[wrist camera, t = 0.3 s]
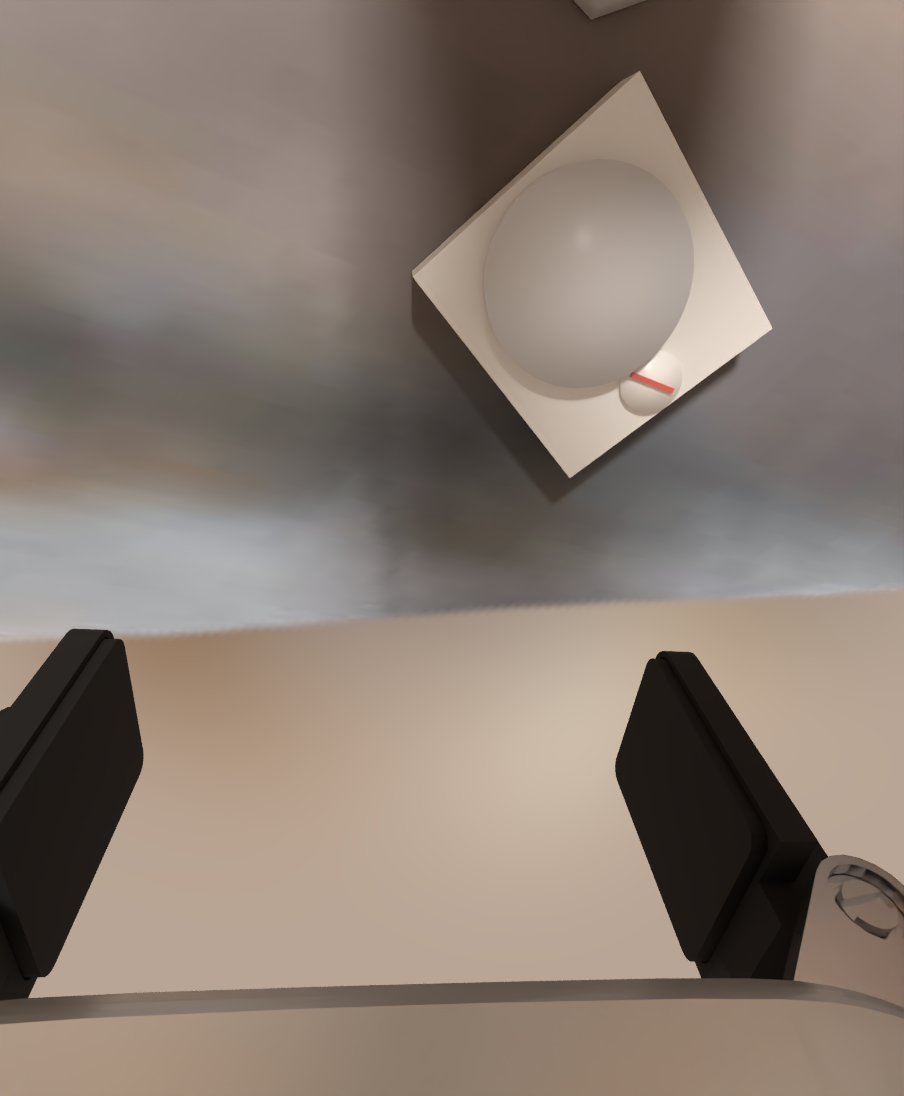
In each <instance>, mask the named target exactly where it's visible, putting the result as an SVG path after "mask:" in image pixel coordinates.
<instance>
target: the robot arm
mask: <svg viewBox="0 0 904 1096" xmlns="http://www.w3.org/2000/svg"><path fill="white" fill-rule="evenodd" d="M142 765H143V747H142V742H141V736H140V730H139V725H138V719H137V714H136V708H135V703H134V697H133V691H132V685H131V680H130V674H129V668H128V663H127V657H126V652H125V646H124V643H123V641H122V640H121V639H114V637H113V634H112V633H111V631H108V630H92V629H72V630H70V631H69V632H68V633H67V634H66V635H65V636H64V637H63V639H62V640H61V641H60V643H59V644H58V645H57V647H56V648H55V649H54V651H53V652H52V653H51V654H50V656H49V657H48V658H47V660H46V661H45V662H44V664H43V665H42V666H41V668H40V669H39V670H38V671H37V673H36V674H35V675H34V677H33V678H32V679H31V681H30V682H29V683H28V685H27V686H26V687H25V689H24V690H23V691H22V693H21V694H20V695H19V696H18V698H17V699H16V700H15V702H14V703H13V704H12V706H11V707H7V708H5V709H3V710H1V711H0V1096H904V885H903V884H901V883H900V882H899V881H898V880H897V879H896V878H895V877H893V876H892V875H891V874H889V873H888V872H886V871H884V870H883V869H881V868H880V867H878V866H877V865H875V864H872V863H870V862H868V861H865V860H863V859H860V858H857V857H852V856H847V855H835V856H829V857H828V856H827V854H826V853H825V852H824V850H823V848H822V847H821V845H820V844H819V842H818V841H817V839H816V837H815V836H814V834H813V833H812V831H811V830H810V828H809V827H808V825H807V824H806V822H805V821H804V819H803V818H802V816H801V815H800V813H799V811H798V810H797V808H796V807H795V805H794V804H793V803H792V801H791V799H790V798H789V797H788V795H787V793H786V792H785V790H784V789H783V787H782V786H781V784H780V783H779V781H778V780H777V778H776V777H775V775H774V774H773V772H772V771H771V769H770V768H769V766H768V764H767V763H766V761H765V760H764V758H763V757H762V755H761V754H760V753H759V751H758V749H757V748H756V746H755V745H754V744H753V742H752V740H751V739H750V737H749V736H748V734H747V733H746V731H745V730H744V728H743V727H742V725H741V724H740V722H739V720H738V719H737V718H736V716H735V715H734V713H733V711H732V710H731V708H730V707H729V705H728V704H727V703H726V701H725V699H724V698H723V696H722V695H721V693H720V692H719V690H718V689H717V687H716V686H715V684H714V683H713V681H712V680H711V678H710V677H709V675H708V674H707V672H706V670H705V669H704V667H703V666H702V664H701V663H700V661H699V660H698V658H697V657H696V656H695V655H694V654H693V653H691V652H674V651H662V652H659V654H658V655H657V656H656V659H650V660H649V661H648V663H647V665H646V668H645V671H644V674H643V677H642V681H641V684H640V687H639V690H638V693H637V696H636V699H635V702H634V705H633V708H632V712H631V715H630V718H629V721H628V724H627V727H626V730H625V733H624V736H623V740H622V743H621V746H620V749H619V752H618V755H617V758H616V764H615V772H616V778H617V781H618V784H619V786H620V789H621V791H622V794H623V797H624V799H625V802H626V805H627V807H628V810H629V812H630V815H631V818H632V820H633V823H634V825H635V828H636V831H637V833H638V836H639V839H640V841H641V844H642V847H643V849H644V852H645V854H646V857H647V860H648V862H649V864H650V867H651V870H652V873H653V875H654V878H655V880H656V883H657V886H658V888H659V891H660V894H661V896H662V899H663V902H664V904H665V907H666V909H667V912H668V914H669V917H670V920H671V922H672V925H673V928H674V930H675V933H676V936H677V938H678V941H679V943H680V946H681V948H682V951H683V953H684V955H685V956H686V958H687V959H688V960H689V961H695V963H696V966H697V968H698V971H699V973H700V976H701V978H699V979H615V980H571V981H570V980H569V981H524V982H523V981H522V982H481V983H444V984H408V985H370V986H339V987H338V986H336V987H335V986H334V987H302V988H270V989H239V990H209V991H179V992H149V993H126V994H125V993H124V994H106V995H86V996H66V997H45V998H28V997H29V995H30V992H31V990H32V988H33V986H34V984H35V981H36V979H37V977H46V976H47V975H48V974H49V973H50V972H51V970H52V969H53V967H54V965H55V963H56V961H57V959H58V956H59V954H60V952H61V950H62V947H63V945H64V943H65V940H66V938H67V936H68V934H69V932H70V929H71V927H72V925H73V923H74V920H75V918H76V916H77V914H78V912H79V909H80V907H81V905H82V903H83V900H84V898H85V896H86V894H87V891H88V889H89V887H90V885H91V882H92V880H93V878H94V876H95V874H96V871H97V869H98V867H99V864H100V862H101V860H102V858H103V856H104V853H105V851H106V849H107V847H108V845H109V842H110V840H111V838H112V836H113V833H114V831H115V829H116V827H117V824H118V822H119V820H120V818H121V815H122V813H123V811H124V809H125V806H126V804H127V802H128V800H129V797H130V795H131V793H132V791H133V789H134V786H135V784H136V782H137V780H138V778H139V775H140V772H141V769H142Z"/></svg>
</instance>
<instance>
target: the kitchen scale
mask: <svg viewBox="0 0 904 1096" xmlns="http://www.w3.org/2000/svg"><path fill="white" fill-rule="evenodd" d="M411 272H412V276H413V278H414V279H415V281H416V282H417V283H418V284H419V286H420V287H421V288H422V290H423V291H424V292H425V293H426V295H427V296H428V297H429V299H430V300H431V301H432V302H433V304H434V305H435V306H436V308H437V309H438V310H439V311H440V313H441V314H442V315H443V317H444V318H445V319H446V320H447V322H448V323H449V324H450V325H451V327H452V328H453V329H454V331H455V332H456V333H457V334H458V336H459V337H460V338H461V340H462V341H463V342H464V343H465V345H466V346H467V347H468V349H469V350H470V351H471V352H472V354H473V355H474V356H475V358H476V359H477V360H478V361H479V363H480V364H481V365H482V366H483V368H484V369H485V370H486V372H487V373H488V374H489V375H490V377H491V378H492V379H493V381H494V382H495V383H496V384H497V386H498V387H499V388H500V390H501V391H502V392H503V393H504V395H505V396H506V397H507V399H508V400H509V401H510V402H511V404H512V405H513V406H514V407H515V409H516V410H517V411H518V413H519V414H520V415H521V416H522V418H523V419H524V420H525V422H526V423H527V424H528V425H529V427H530V428H531V429H532V431H533V432H534V433H535V434H536V436H537V437H538V438H539V439H540V441H541V442H542V443H543V445H544V446H545V447H546V448H547V450H548V451H549V452H550V454H551V455H552V456H553V457H554V459H555V460H556V461H557V463H558V464H559V465H560V466H561V468H562V469H563V470H564V472H565V473H566V474H567V475H568V477H569V478H571V477H572V476H574V475H575V474H576V473H578V472H579V471H580V470H582V469H583V468H584V467H586V466H587V465H589V464H590V463H591V462H593V461H594V460H595V459H597V458H598V457H599V456H601V455H602V454H603V453H605V452H606V451H607V450H609V449H610V448H611V447H613V446H614V445H616V444H617V443H618V442H620V441H621V440H622V439H624V438H625V437H626V436H628V435H629V434H630V433H632V432H633V431H634V430H636V429H637V428H639V427H640V426H641V425H643V424H644V423H645V422H647V421H648V420H649V419H651V418H652V417H653V416H655V415H656V414H657V413H659V412H660V411H662V410H663V409H664V408H666V407H667V406H668V405H670V404H671V403H672V402H674V401H675V400H676V399H678V398H679V397H680V396H682V395H683V394H684V393H686V392H687V391H689V390H690V389H691V388H693V387H694V386H695V385H697V384H698V383H699V382H701V381H702V380H703V379H705V378H706V377H707V376H709V375H710V374H712V373H713V372H714V371H716V370H717V369H718V368H720V367H721V366H722V365H724V364H725V363H726V362H728V361H729V360H730V359H732V358H733V357H734V356H736V355H737V354H739V353H740V352H741V351H743V350H744V349H745V348H747V347H748V346H749V345H751V344H752V343H753V342H755V341H756V340H757V339H759V338H760V337H762V336H763V335H764V334H766V333H767V332H768V331H770V330H771V329H772V326H771V324H770V323H769V321H768V319H767V317H766V315H765V313H764V311H763V309H762V307H761V305H760V303H759V301H758V299H757V297H756V295H755V293H754V291H753V290H752V288H751V286H750V284H749V282H748V280H747V278H746V276H745V274H744V272H743V270H742V268H741V266H740V264H739V262H738V260H737V258H736V257H735V255H734V253H733V251H732V249H731V247H730V245H729V243H728V241H727V239H726V237H725V235H724V233H723V231H722V229H721V227H720V225H719V224H718V222H717V220H716V218H715V216H714V214H713V212H712V210H711V208H710V206H709V204H708V202H707V200H706V198H705V196H704V194H703V192H702V190H701V189H700V187H699V185H698V183H697V181H696V179H695V177H694V175H693V173H692V171H691V169H690V167H689V165H688V163H687V161H686V159H685V157H684V156H683V154H682V152H681V150H680V148H679V146H678V144H677V142H676V140H675V138H674V136H673V134H672V132H671V130H670V128H669V126H668V124H667V123H666V121H665V119H664V117H663V115H662V113H661V111H660V109H659V107H658V105H657V103H656V101H655V99H654V97H653V95H652V93H651V91H650V90H649V88H648V86H647V84H646V82H645V80H644V78H643V76H642V74H641V72H640V71H638V72H637V73H635V74H633V75H631V76H629V77H627V78H625V79H624V80H622V81H620V82H619V83H618V84H617V85H615V86H614V87H613V88H612V89H611V90H610V91H609V92H608V93H607V94H606V95H604V96H603V97H602V98H601V99H600V100H599V101H598V102H597V103H596V104H595V105H594V106H592V107H591V108H590V109H589V110H588V111H587V112H586V113H585V114H584V115H583V116H581V117H580V118H579V119H578V120H577V121H576V122H575V123H574V124H573V125H572V126H570V127H569V128H568V129H567V130H566V131H565V132H564V133H563V134H562V135H561V136H559V137H558V138H557V139H556V140H555V141H554V142H553V143H552V144H551V145H550V146H549V147H547V148H546V149H545V150H544V151H543V152H542V153H541V154H540V155H539V156H538V157H536V158H535V159H534V160H533V161H532V162H531V163H530V164H529V165H528V166H527V167H525V168H524V169H523V170H522V171H521V172H520V173H519V174H518V175H517V176H516V177H514V178H513V179H512V180H511V181H510V182H509V183H508V184H507V185H506V186H505V187H504V188H502V189H501V190H500V191H499V192H498V193H497V194H496V195H495V196H494V197H493V198H491V199H490V200H489V201H488V202H487V203H486V204H485V205H484V206H483V207H482V208H480V209H479V210H478V211H477V212H476V213H475V214H474V215H473V216H472V217H471V218H469V219H468V220H467V221H466V222H465V223H464V224H463V225H462V226H461V227H460V228H458V229H457V230H456V231H455V232H454V233H453V234H452V235H451V236H450V237H449V238H448V239H446V240H445V241H444V242H443V243H442V244H441V245H440V246H439V247H438V248H437V249H435V250H434V251H433V252H432V253H431V254H430V255H429V256H428V257H427V258H426V259H424V260H423V261H422V262H421V263H420V264H419V265H418V266H417V267H416V268H415V269H413V270H412V271H411Z"/></svg>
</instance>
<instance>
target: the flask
mask: <svg viewBox="0 0 904 1096" xmlns="http://www.w3.org/2000/svg"><path fill="white" fill-rule="evenodd" d="M573 1H574V2H575V3H576V4H577V5H578V6H579V7H580V8H581V9H582V10H583V11H584V13H585V14H586V15H587V16H588V17H589V18H590V19H591V20H592V19H595V18H598V17H601V16H603V15H606V14H609V13H612V12H615V11H618V10H620V9H623V8H626V7H629V6H632V5H634V4H637V3H640V2H643V1H646V0H573Z"/></svg>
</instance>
